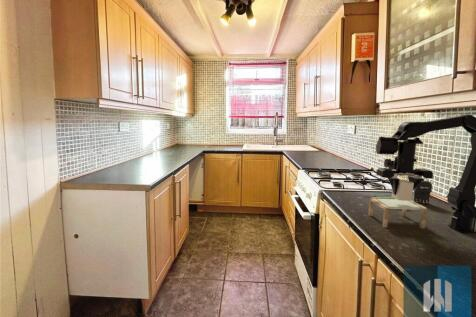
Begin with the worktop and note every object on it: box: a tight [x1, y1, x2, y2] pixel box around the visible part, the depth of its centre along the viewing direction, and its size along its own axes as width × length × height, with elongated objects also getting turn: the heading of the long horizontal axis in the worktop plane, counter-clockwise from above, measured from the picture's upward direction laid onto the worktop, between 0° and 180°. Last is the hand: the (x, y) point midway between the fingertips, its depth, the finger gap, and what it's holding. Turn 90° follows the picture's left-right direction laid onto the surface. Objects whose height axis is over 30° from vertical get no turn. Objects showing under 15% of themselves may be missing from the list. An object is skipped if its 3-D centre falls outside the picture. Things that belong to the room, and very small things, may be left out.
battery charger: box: [412, 180, 433, 205], centre depth 133 cm, size 7×4×11 cm, turn 73°
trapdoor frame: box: [367, 196, 428, 229], centre depth 110 cm, size 13×15×8 cm
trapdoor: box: [377, 199, 422, 211], centre depth 109 cm, size 10×12×1 cm
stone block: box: [391, 179, 414, 201], centre depth 106 cm, size 5×5×7 cm
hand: (401, 194), depth 106 cm, fingers closed on stone block, 5 cm apart
